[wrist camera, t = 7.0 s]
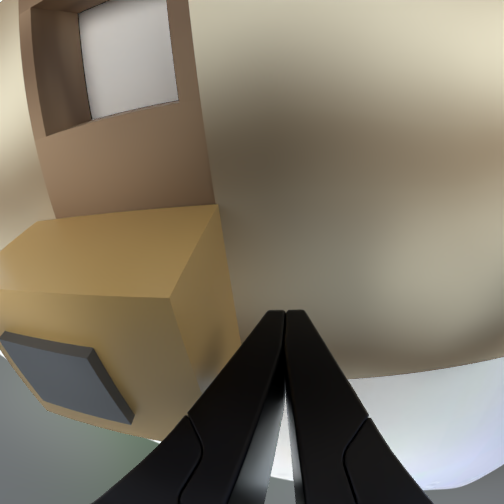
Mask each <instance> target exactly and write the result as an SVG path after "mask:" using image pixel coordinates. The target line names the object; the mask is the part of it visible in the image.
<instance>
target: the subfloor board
mask: <svg viewBox="0 0 504 504" xmlns="http://www.w3.org/2000/svg"><path fill="white" fill-rule="evenodd" d="M106 1H109V0H2V1H1V2H0V251H1V250H2V249H3V248H4V247H6V246H7V245H8V244H9V243H10V242H12V241H13V240H14V239H15V238H16V237H18V236H19V235H20V234H21V233H23V232H24V231H25V230H26V229H28V228H29V227H30V226H31V225H33V224H34V223H35V222H37V221H45V220H53V219H61V218H69V217H78V216H87V215H96V214H105V213H115V212H125V211H136V210H147V209H159V208H171V207H184V206H198V205H213V204H218V206H219V212H220V219H221V225H222V232H223V238H224V244H225V251H226V257H227V263H228V269H229V275H230V281H231V287H232V293H233V299H234V305H235V311H236V317H237V323H238V328H239V334H240V340H241V345H242V343H243V342H244V341H245V339H246V338H247V337H248V335H249V334H250V333H251V332H252V330H253V329H254V328H255V326H256V325H257V324H258V322H259V321H260V320H261V318H262V317H263V316H264V314H265V313H266V312H267V311H268V310H284V311H285V312H287V310H295V309H303V310H305V311H306V313H307V315H308V316H309V318H310V319H311V321H312V323H313V324H314V326H315V327H316V329H317V331H318V332H319V334H320V336H321V337H322V339H323V340H324V342H325V344H326V345H327V347H328V349H329V350H330V352H331V353H332V355H333V357H334V358H335V360H336V362H337V363H338V365H339V366H340V368H341V370H342V371H343V373H344V375H345V376H346V378H347V379H357V378H370V377H381V376H391V375H400V374H408V373H416V372H423V371H430V370H437V369H444V368H450V367H456V366H461V365H467V364H472V363H477V362H482V361H487V360H491V359H496V358H500V357H504V0H166V1H167V10H168V20H169V29H170V37H171V45H172V54H173V61H174V69H175V77H176V84H177V91H178V98H179V100H178V101H173V102H167V103H162V104H157V105H152V106H147V107H143V108H138V109H134V110H129V111H125V112H121V113H117V114H113V115H109V116H105V117H101V118H98V119H94V120H92V119H91V114H90V108H89V103H88V97H87V90H86V84H85V77H84V70H83V62H82V54H81V45H80V35H79V23H78V13H80V12H82V11H85V10H87V9H89V8H92V7H94V6H96V5H99V4H101V3H104V2H106Z"/></svg>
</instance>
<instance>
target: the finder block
mask: <svg viewBox="0 0 504 504" xmlns="http://www.w3.org/2000/svg"><path fill="white" fill-rule="evenodd" d="M240 346H241V340H240V334H239V328H238V323H237V317H236V311H235V305H234V299H233V293H232V287H231V281H230V275H229V269H228V263H227V257H226V251H225V244H224V238H223V232H222V225H221V219H220V212H219V206H218V204H213V205H198V206H184V207H171V208H159V209H147V210H136V211H125V212H115V213H105V214H96V215H87V216H78V217H69V218H61V219H53V220H45V221H37V222H35V223H34V224H33V225H31V226H30V227H29V228H28V229H26V230H25V231H24V232H23V233H21V234H20V235H19V236H18V237H16V238H15V239H14V240H13V241H12V242H10V243H9V244H8V245H7V246H6V247H4V248H3V249H2V250H1V251H0V350H1V351H2V353H3V354H4V356H5V357H6V359H7V360H8V362H9V363H10V364H11V366H12V367H13V368H14V370H15V371H16V373H17V374H18V375H19V377H20V378H21V379H22V381H23V382H24V383H25V384H26V386H27V387H28V388H29V389H30V391H31V392H32V393H33V394H34V396H35V397H36V398H37V399H38V401H39V402H40V403H41V404H42V405H43V406H44V408H45V409H46V410H47V411H49V412H53V413H55V414H58V415H61V416H64V417H67V418H70V419H73V420H77V421H80V422H83V423H87V424H90V425H94V426H97V427H101V428H105V429H109V430H112V431H117V432H120V433H125V434H129V435H133V436H138V437H143V438H148V439H153V440H158V441H163V440H164V439H165V438H166V436H167V435H168V434H169V433H170V432H171V431H172V430H173V429H174V428H175V426H176V425H177V424H178V423H179V422H180V420H181V419H182V418H183V417H184V416H185V415H188V414H187V412H188V411H189V410H190V408H191V407H192V406H193V405H194V404H195V402H196V401H197V400H198V399H199V397H200V396H201V395H202V394H203V393H204V391H205V390H206V389H207V388H208V386H209V385H210V384H211V383H212V381H213V380H214V379H215V378H216V376H217V375H218V374H219V373H220V371H221V370H222V369H223V368H224V366H225V365H226V364H227V362H228V361H229V360H230V359H231V357H232V356H233V355H234V354H235V352H236V351H237V350H238V348H239V347H240Z"/></svg>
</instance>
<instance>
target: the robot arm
mask: <svg viewBox="0 0 504 504" xmlns="http://www.w3.org/2000/svg"><path fill="white" fill-rule="evenodd" d="M285 393H286V403H287V415H288V425H289V436H290V446H291V457H292V468H293V479H294V490H295V502H296V504H434V503H433V502H432V501H431V500H430V499H429V497H428V496H427V495H426V494H425V492H424V491H423V490H422V489H421V488H420V486H419V485H418V484H417V483H416V481H415V480H414V479H413V478H412V477H411V475H410V474H409V473H408V472H407V470H406V469H405V468H404V466H403V465H402V464H401V463H400V461H399V460H398V459H397V457H396V456H395V455H394V453H393V452H392V451H391V449H390V447H389V446H388V444H387V443H386V441H385V440H384V438H383V437H382V435H381V434H380V432H379V430H378V429H377V427H376V425H375V424H374V422H373V420H372V419H371V418H368V417H369V414H368V413H367V411H366V409H365V408H364V406H363V404H362V403H361V401H360V399H359V398H358V396H357V394H356V393H355V391H354V389H353V388H352V386H351V384H350V383H349V381H348V380H347V378H346V376H345V375H344V373H343V371H342V370H341V368H340V366H339V365H338V363H337V362H336V360H335V358H334V357H333V355H332V353H331V352H330V350H329V349H328V347H327V345H326V344H325V342H324V340H323V339H322V337H321V336H320V334H319V332H318V331H317V329H316V327H315V326H314V324H313V323H312V321H311V319H310V318H309V316H308V315H307V313H306V311H305V310H303V309H295V310H287V312H285V311H284V310H268V311H267V312H266V313H265V314H264V316H263V317H262V318H261V320H260V321H259V322H258V324H257V325H256V326H255V328H254V329H253V330H252V332H251V333H250V334H249V335H248V337H247V338H246V339H245V341H244V342H243V343H242V345H241V346H240V347H239V348H238V350H237V351H236V352H235V354H234V355H233V356H232V357H231V359H230V360H229V361H228V362H227V364H226V365H225V366H224V368H223V369H222V370H221V371H220V373H219V374H218V375H217V376H216V378H215V379H214V380H213V381H212V383H211V384H210V385H209V386H208V388H207V389H206V390H205V391H204V393H203V394H202V395H201V396H200V397H199V399H198V400H197V401H196V402H195V404H194V405H193V406H192V407H191V408H190V410H189V411H188V412H187V414H188V415H185V416H184V417H183V418H182V419H181V420H180V422H179V423H178V424H177V425H176V426H175V428H174V429H173V430H172V431H171V432H170V433H169V434H168V435H167V436H166V438H165V439H164V440H163V441H162V442H161V443H160V444H159V445H158V446H157V447H156V448H155V449H154V450H153V451H152V452H151V453H150V454H149V455H148V456H147V457H146V458H145V459H144V460H142V461H141V462H140V463H139V464H138V465H137V466H136V467H135V468H133V469H132V470H131V471H130V472H129V473H128V474H127V475H125V476H124V477H123V478H122V479H121V480H120V481H118V482H117V483H116V484H115V485H114V486H113V487H111V488H110V489H109V490H108V491H106V492H105V493H104V494H103V495H102V496H101V497H99V498H98V499H97V500H95V501H94V502H93V503H91V504H264V502H265V497H266V493H267V489H268V484H269V479H270V475H271V470H272V466H273V461H274V456H275V451H276V446H277V441H278V436H279V431H280V426H281V420H282V415H283V409H284V403H285Z"/></svg>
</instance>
